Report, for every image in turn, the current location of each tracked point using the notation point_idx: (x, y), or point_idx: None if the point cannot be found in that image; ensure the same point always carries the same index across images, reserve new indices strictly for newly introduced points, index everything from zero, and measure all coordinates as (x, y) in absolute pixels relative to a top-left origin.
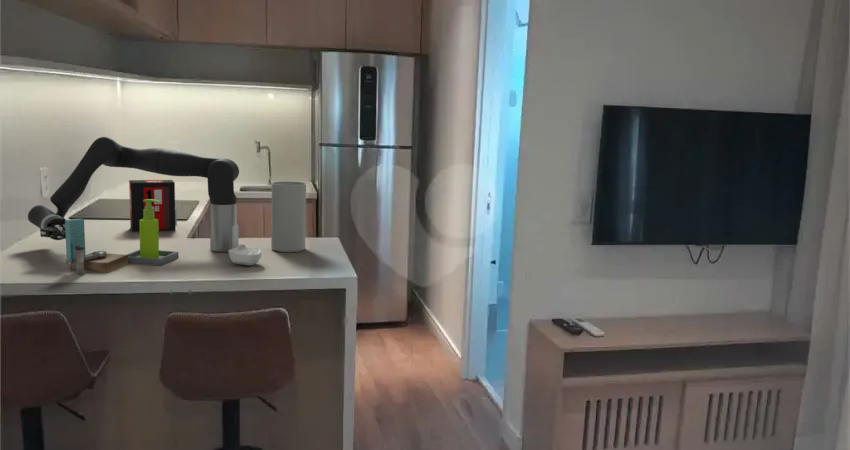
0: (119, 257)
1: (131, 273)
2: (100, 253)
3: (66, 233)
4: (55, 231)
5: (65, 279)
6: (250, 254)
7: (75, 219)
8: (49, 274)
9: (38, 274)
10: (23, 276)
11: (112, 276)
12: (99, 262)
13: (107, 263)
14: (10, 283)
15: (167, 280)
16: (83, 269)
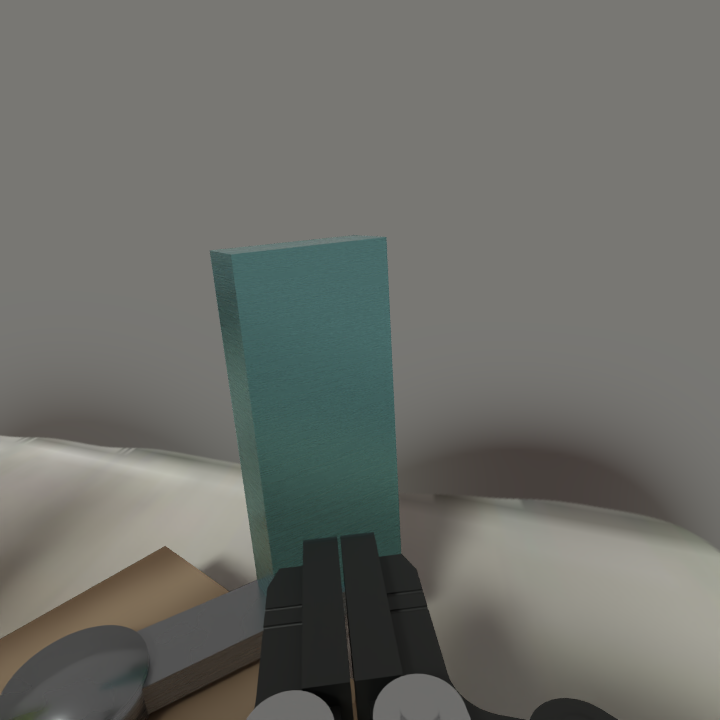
0: None
1: (86, 553)
2: (103, 632)
3: (384, 355)
4: (561, 716)
5: (420, 538)
6: None
7: (289, 244)
8: (528, 659)
9: (614, 684)
10: (708, 659)
11: (198, 531)
12: (194, 567)
13: (158, 554)
14: (694, 539)
15: (70, 453)
16: None
